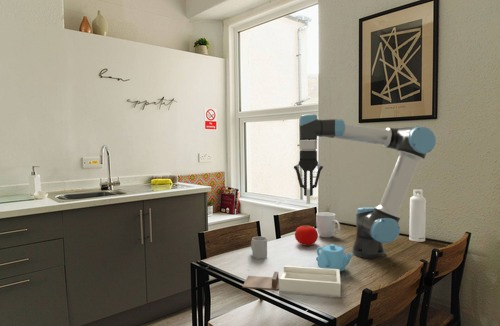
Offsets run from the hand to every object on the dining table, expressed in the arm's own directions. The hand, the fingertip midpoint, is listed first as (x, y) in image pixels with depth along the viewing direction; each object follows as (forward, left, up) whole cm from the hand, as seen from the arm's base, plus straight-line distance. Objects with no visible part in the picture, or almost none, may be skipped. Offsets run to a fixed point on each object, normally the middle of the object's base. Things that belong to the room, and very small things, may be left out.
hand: (308, 203), depth 155 cm
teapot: (-11, +4, -29) cm, 31 cm away
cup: (+25, -9, -29) cm, 39 cm away
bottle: (-57, -52, -29) cm, 82 cm away
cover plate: (+17, +23, -29) cm, 40 cm away
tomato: (+3, -32, -29) cm, 43 cm away
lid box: (-2, +23, -28) cm, 37 cm away
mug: (-8, -50, -29) cm, 58 cm away
